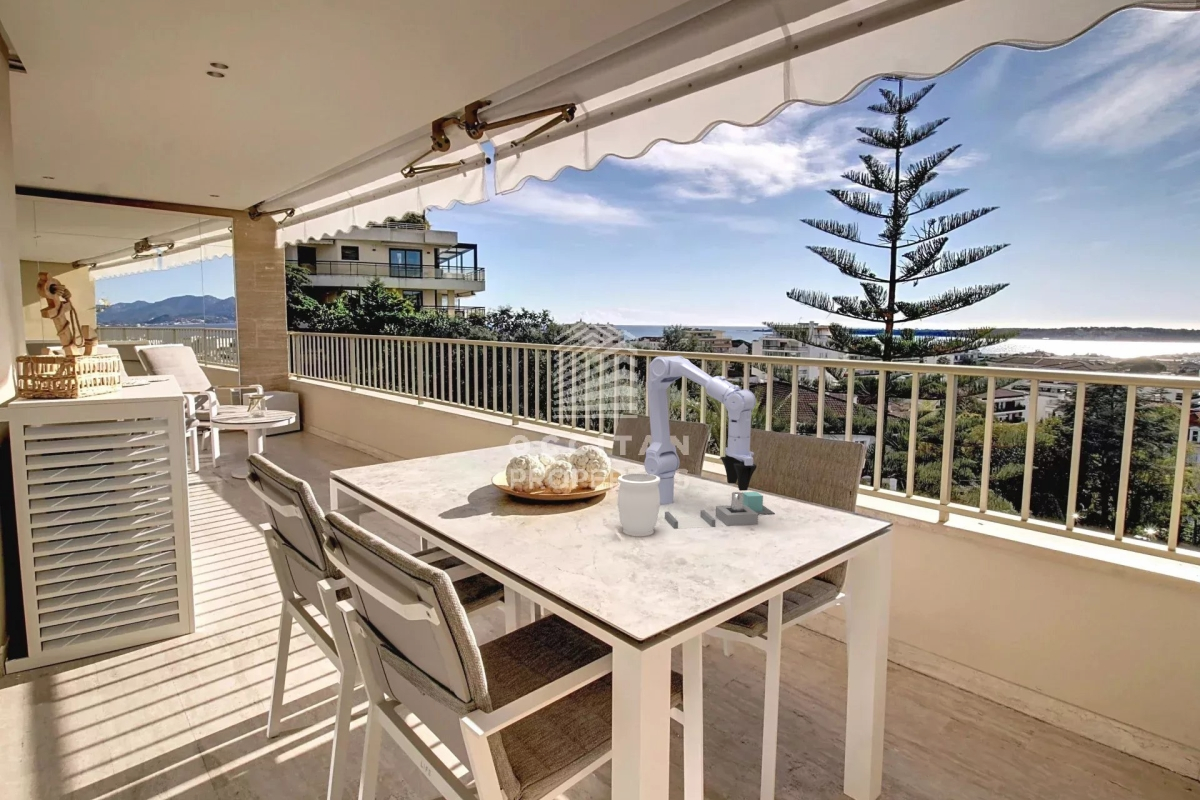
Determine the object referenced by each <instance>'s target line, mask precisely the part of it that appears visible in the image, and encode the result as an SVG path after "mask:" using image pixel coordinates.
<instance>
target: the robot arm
mask: <svg viewBox="0 0 1200 800" xmlns="http://www.w3.org/2000/svg"><path fill="white" fill-rule="evenodd" d="M648 370H649V371H648V372H649V373H648V374H649V375H648V379H647V383H646V384H647V385H646V387H647V395H648V396H647V397H648V398H647V399H648V412H649V424H650V439H651V444H650V445H649V446H648V447H647V449H646V450H645V459H644V461H643V462H644V464H643V465H644V466H643V467H644V470H645V473H646V474H651V475H655V476H658V477H659V478H660V483H659V484H658V487H659V493H660V505H671V504H673V503H674V494H675V490H674V489H675V487H674V486H675V485H674V484H675V475H676V471H677V470H678V469H679V467H680V465H681V464H680V463H681V462H680V457H679V455H678V454H677V447H676V446H675V445H674V444H673V443H672V442H671V433H670V432H671V431H670V420H669V406H668V392H667V389H668V388H669V387H670V385H672V383H673V382H675V381H676V380H679V379H680V378H682V377H684V378H687V379H688V380H691V381H692V382H694V383H696V384H697V385H699V386H701V387H704V388H705V392H706V395H708V396H709V397H711V398H712V399H715V400H716V401H718V402H719V403H721V404H723V405H724V407H725V409H726V411H727V417H728V426H727V427H728V430H727V431H728V434H727V435H728V436H727V437H728V438H727V447H724V454H725V455H726V456H721V457H720V460H721V461H722V464H723V467H724V470H725V475H726V478H727V480H726V481H727V483H728V484H737V488H738V490H739V492H741V491H742V492H746V491H748V489H749V485H750V482H751V479H752V477H753V474H754V472H755V471H756V469H757V467H758V466H757V464H755V463H754V457H753V456H754V455H755V452H753V451H751V431H752V430H751V429H752V428H751V427H752V410H753V409H754V408H755V406H756V404H757V399H756V396H755V394H754V393H753V392H752V391H751V390H750V389H746V388H745V389H741V388H740V385H737V384H735V385H734V384H733V383H731V382H730V381H728V380H727V378H726V377H725V376H724V375H721V376H720V375H716V376H712V375H710V374H708V373H707V372H705V371H704V370H703V369H700V368H699V367H698V366H696V365H695V364H693V363H692V362H691V361H690V359H687V358H684V357H683V356H682V355H674V356H661V355H660V356H656V357H654V358H653V359H652V361H651V362H650V363H649V364H648Z"/></svg>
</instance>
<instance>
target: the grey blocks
mask: <svg viewBox="0 0 1200 800" xmlns="http://www.w3.org/2000/svg"><path fill="white" fill-rule="evenodd" d="M699 514H700V515H699V516H683V517H674V516H673V514H672V513H671V512H669V511H664V519H665V520H666V521H667V523H668V524H669V525H670V526H671V527H672V528H673V529H674V530H677V529H681V530H682V529H696V528H697V529H698V528H715V527H716V519H718V521H720V522H722V524H724V525H725V526H726V527H733V526H734V527H738V526H754V525H757V526H758V525H759V515H758V513H756V512H755V511H753V510H752V509H750V508H749V507H748V506H746V505H743V512H739V513H731V505H716V506H715V517H713V516H711V514H709V513H708V512H707V511H706V510H705V509H700V513H699ZM715 518H716V519H715Z"/></svg>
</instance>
